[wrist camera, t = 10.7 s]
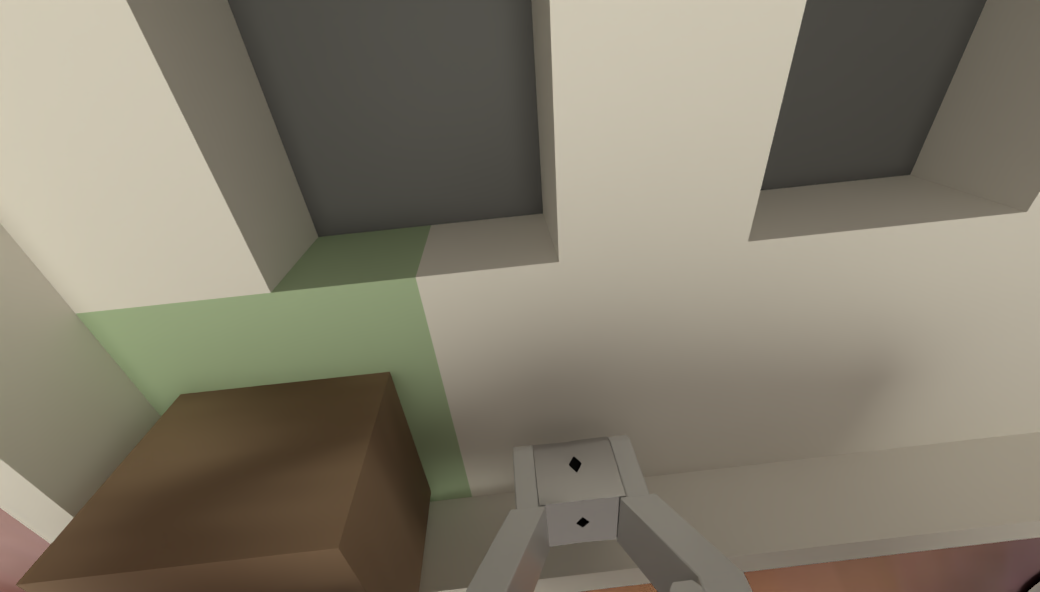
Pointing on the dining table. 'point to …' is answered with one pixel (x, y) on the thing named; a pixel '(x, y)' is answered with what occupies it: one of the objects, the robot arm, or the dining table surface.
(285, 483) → the walnut block
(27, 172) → the box
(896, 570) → the dining table surface
